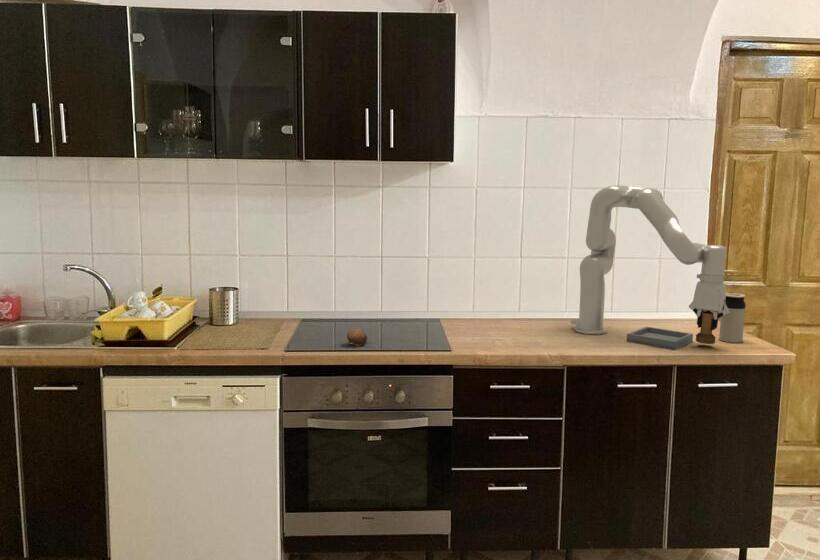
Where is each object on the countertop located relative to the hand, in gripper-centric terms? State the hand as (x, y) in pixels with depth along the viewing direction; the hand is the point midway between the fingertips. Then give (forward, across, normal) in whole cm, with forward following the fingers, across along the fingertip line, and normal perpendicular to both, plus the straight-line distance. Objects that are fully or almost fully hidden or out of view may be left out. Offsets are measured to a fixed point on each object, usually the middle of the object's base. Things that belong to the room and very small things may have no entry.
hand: (706, 327), depth 224 cm
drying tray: (+8, -15, -4) cm, 17 cm away
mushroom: (+10, -93, -89) cm, 129 cm away
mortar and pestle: (+6, 0, 0) cm, 6 cm away
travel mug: (+7, +4, +17) cm, 19 cm away
